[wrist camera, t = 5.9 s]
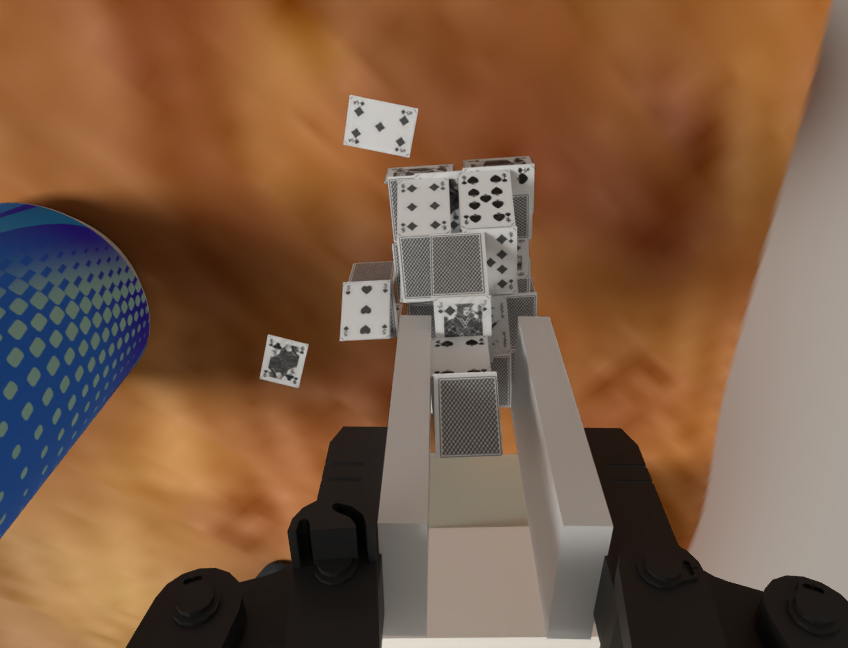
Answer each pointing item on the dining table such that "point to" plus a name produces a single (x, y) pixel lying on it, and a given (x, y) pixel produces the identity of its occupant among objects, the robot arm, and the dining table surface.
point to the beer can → (58, 340)
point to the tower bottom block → (476, 492)
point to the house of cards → (441, 278)
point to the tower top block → (484, 593)
